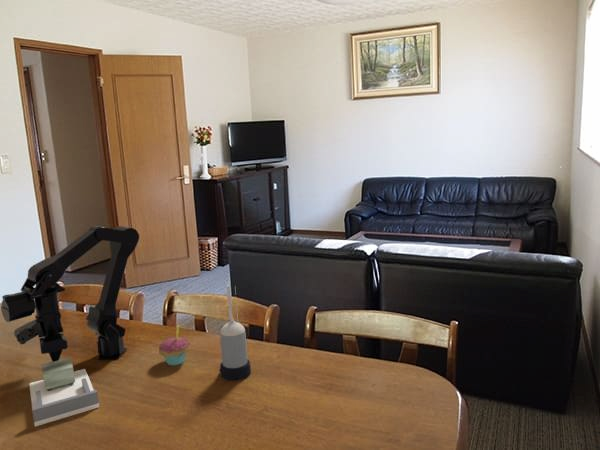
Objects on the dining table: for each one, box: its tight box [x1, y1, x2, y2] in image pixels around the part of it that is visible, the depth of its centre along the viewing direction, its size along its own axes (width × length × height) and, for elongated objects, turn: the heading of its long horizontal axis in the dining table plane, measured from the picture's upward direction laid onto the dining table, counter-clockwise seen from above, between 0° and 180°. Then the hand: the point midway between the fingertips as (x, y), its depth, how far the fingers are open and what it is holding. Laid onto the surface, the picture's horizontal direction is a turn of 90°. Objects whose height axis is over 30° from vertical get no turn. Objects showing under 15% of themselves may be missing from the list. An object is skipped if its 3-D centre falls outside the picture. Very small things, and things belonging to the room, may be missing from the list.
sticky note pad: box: [41, 357, 75, 391], centre depth 133 cm, size 9×7×5 cm
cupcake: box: [158, 322, 191, 366], centre depth 142 cm, size 9×8×12 cm
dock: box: [28, 368, 100, 427], centre depth 127 cm, size 24×14×5 cm, turn 31°
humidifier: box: [218, 284, 252, 382], centre depth 132 cm, size 8×8×25 cm
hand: (55, 363), depth 137 cm, fingers closed
